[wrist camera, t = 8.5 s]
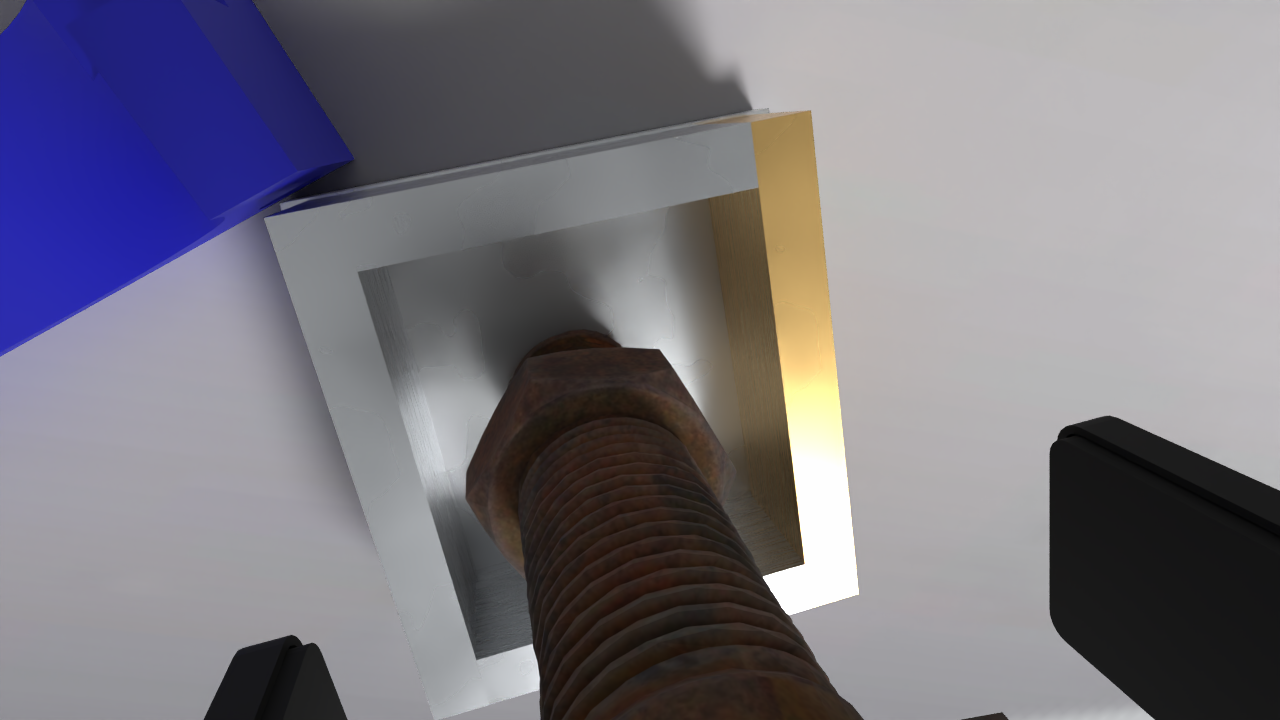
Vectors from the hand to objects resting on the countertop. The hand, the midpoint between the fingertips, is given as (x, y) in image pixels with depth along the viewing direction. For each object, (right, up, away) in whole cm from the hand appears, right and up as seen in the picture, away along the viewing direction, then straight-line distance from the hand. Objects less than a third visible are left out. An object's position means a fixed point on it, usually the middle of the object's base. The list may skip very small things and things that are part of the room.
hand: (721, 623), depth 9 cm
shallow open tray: (-3, +3, +10) cm, 11 cm away
